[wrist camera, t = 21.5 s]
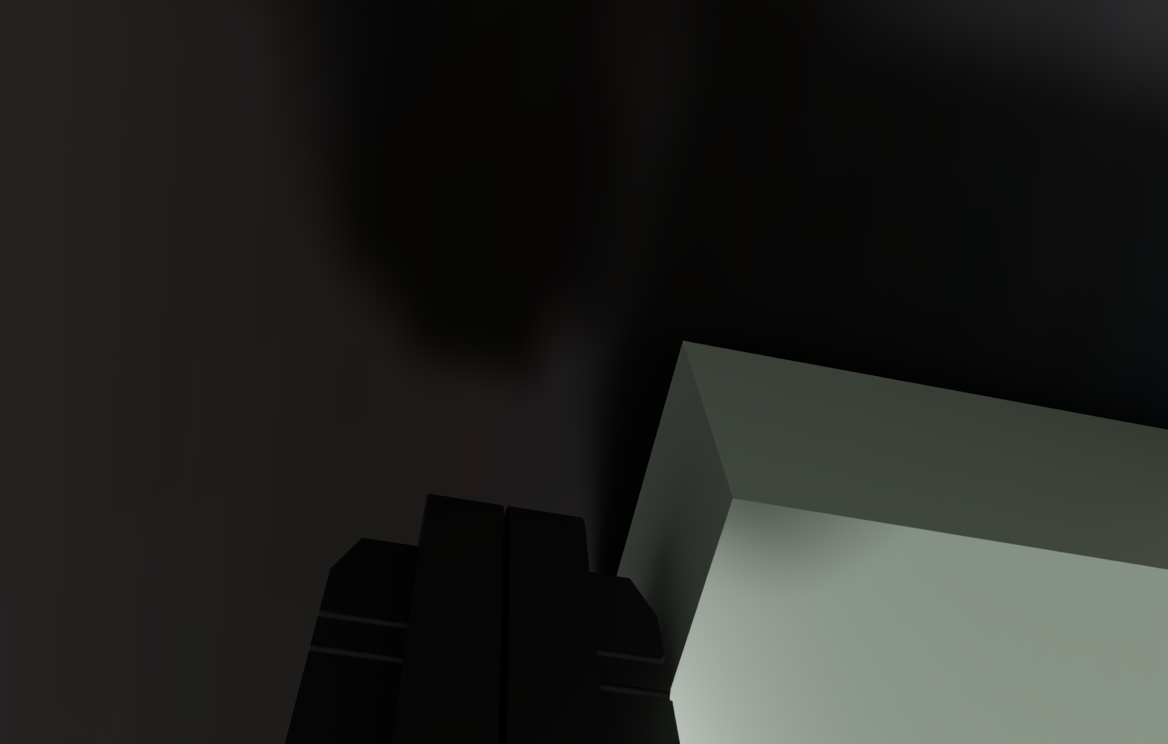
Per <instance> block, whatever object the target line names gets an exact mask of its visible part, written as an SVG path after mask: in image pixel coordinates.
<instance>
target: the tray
mask: <svg viewBox="0 0 1168 744" xmlns="http://www.w3.org/2000/svg"><path fill="white" fill-rule="evenodd" d="M617 576H619V577H626V578H630V579H631V580H632V582H633V583H634V585H635V586H636V587H637V589H638V590H639V592H640V593H641V594H642V596H643V597H644V598H645V600H646V601H647V603H648V604H649V605H650V607H651V608H652V610H653V611H654V612H655V614H656V615H657V617H658V623H659V628H660V634H661V639H662V645H663V651H664V656H665V658H664V665H666V667H667V673H668V679H669V684H670V690H671V693H670V700H671V701H673V706H674V712H675V718H676V723H677V729H678V734H679V740H680V744H1168V430H1166V429H1161V428H1155V427H1150V426H1144V425H1139V424H1134V423H1128V422H1123V421H1117V420H1112V419H1106V418H1101V417H1095V416H1090V415H1085V414H1079V413H1074V412H1068V411H1063V410H1057V409H1052V408H1046V407H1041V406H1035V405H1030V404H1025V403H1019V402H1014V401H1008V400H1003V399H997V398H992V397H986V396H981V395H976V394H970V393H965V392H959V391H954V390H948V389H943V388H937V387H932V386H926V385H921V384H916V383H910V382H905V381H899V380H894V379H888V378H883V377H877V376H872V375H866V374H861V373H856V372H850V371H845V370H839V369H834V368H828V367H823V366H817V365H812V364H807V363H801V362H796V361H790V360H785V359H779V358H774V357H768V356H763V355H757V354H752V353H747V352H741V351H736V350H730V349H725V348H719V347H714V346H708V345H703V344H698V343H692V342H687V341H683V343H682V346H681V350H680V353H679V357H678V360H677V364H676V367H675V371H674V374H673V378H672V381H671V385H670V389H669V392H668V396H667V399H666V403H665V406H664V410H663V413H662V417H661V420H660V424H659V427H658V431H657V435H656V438H655V442H654V445H653V449H652V452H651V456H650V459H649V463H648V466H647V470H646V474H645V477H644V481H643V484H642V488H641V491H640V495H639V498H638V502H637V505H636V509H635V512H634V516H633V520H632V523H631V527H630V530H629V534H628V537H627V541H626V544H625V548H624V551H623V555H622V558H621V562H620V566H619V569H618V573H617Z"/></svg>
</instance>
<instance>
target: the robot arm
mask: <svg viewBox="0 0 1168 744" xmlns="http://www.w3.org/2000/svg"><path fill="white" fill-rule="evenodd" d="M664 658H665V656H664V651H663V645H662V639H661V634H660V628H659V623H658V617H657V615H656V614H655V612H654V611H653V610H652V608H651V607H650V605H649V604H648V603H647V601H646V600H645V598H644V597H643V596H642V594H641V593H640V592H639V590H638V589H637V587H636V586H635V585H634V583H633V582H632V580H631V579H630V578H626V577H619V576H613V575H606V574H599V573H593V572H589V563H588V552H587V542H586V532H585V523H584V520H583V518H581V517H574V516H568V515H562V514H555V513H549V512H543V511H536V510H530V509H524V508H517V507H511V506H508V507H507V509H506V511H505V514H504V507H503V505H497V504H491V503H484V502H478V501H472V500H465V499H459V498H453V497H446V496H440V495H434V494H428V495H427V500H426V504H425V509H424V515H423V520H422V525H421V530H420V536H419V541H418V546H413V545H406V544H399V543H393V542H386V541H380V540H373V539H366V538H362V539H361V540H360V541H359V542H357V543H356V544H355V545H354V546H353V547H352V548H351V549H350V550H349V551H348V552H347V553H346V554H345V555H344V556H343V557H342V558H341V559H340V560H339V561H338V562H337V563H336V564H335V565H334V566H333V567H332V568H331V569H330V572H329V576H328V580H327V584H326V588H325V591H324V595H323V599H322V603H321V607H320V612H319V617H318V618H317V622H316V626H315V630H314V634H313V638H312V642H311V647H310V651H309V653H308V657H307V661H306V665H305V668H304V672H303V676H302V680H301V684H300V688H299V692H298V695H297V699H296V703H295V707H294V711H293V715H292V719H291V722H290V726H289V730H288V734H287V738H286V742H285V744H680V740H679V734H678V729H677V723H676V718H675V712H674V706H673V701H671V700H670V693H671V690H670V684H669V679H668V673H667V667H666V665H664Z"/></svg>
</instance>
